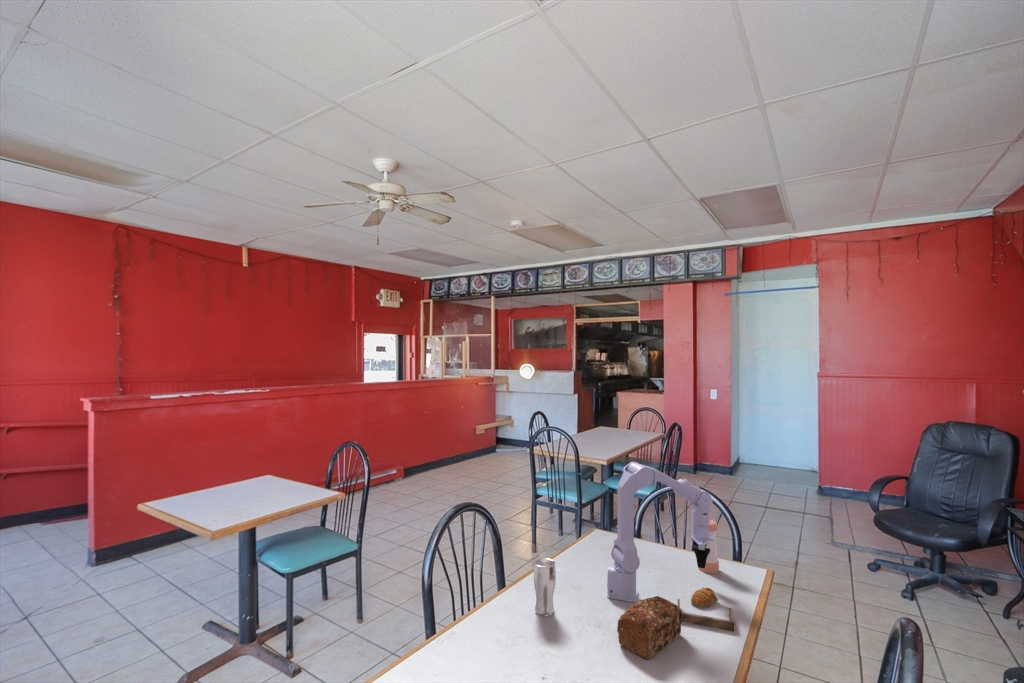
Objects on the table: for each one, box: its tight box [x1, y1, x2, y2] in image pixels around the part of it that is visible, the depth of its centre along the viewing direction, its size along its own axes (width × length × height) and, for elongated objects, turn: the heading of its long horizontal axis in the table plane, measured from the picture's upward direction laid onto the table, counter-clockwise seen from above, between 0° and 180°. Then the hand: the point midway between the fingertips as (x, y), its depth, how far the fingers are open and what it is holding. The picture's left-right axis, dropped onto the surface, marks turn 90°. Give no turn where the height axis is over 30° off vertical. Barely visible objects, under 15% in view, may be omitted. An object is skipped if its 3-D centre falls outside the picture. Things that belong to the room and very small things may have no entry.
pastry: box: [690, 587, 719, 609], centre depth 153 cm, size 9×7×4 cm
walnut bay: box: [677, 598, 735, 632], centre depth 143 cm, size 16×9×2 cm, turn 71°
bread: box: [616, 595, 683, 660], centre depth 132 cm, size 19×11×10 cm, turn 133°
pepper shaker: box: [698, 518, 720, 574], centre depth 178 cm, size 7×7×19 cm
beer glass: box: [533, 557, 557, 616], centre depth 147 cm, size 7×7×15 cm
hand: (700, 563), depth 163 cm, fingers open, 7 cm apart
